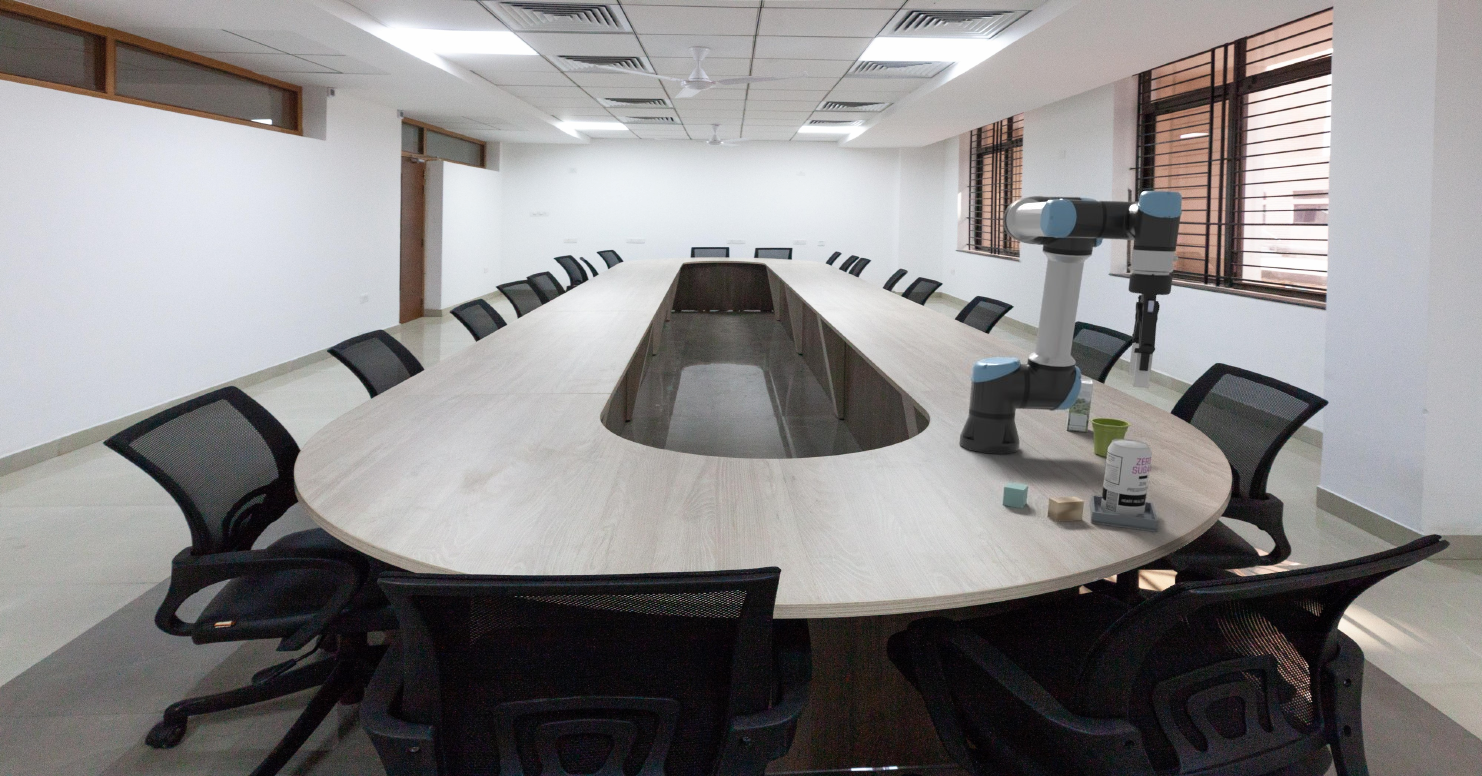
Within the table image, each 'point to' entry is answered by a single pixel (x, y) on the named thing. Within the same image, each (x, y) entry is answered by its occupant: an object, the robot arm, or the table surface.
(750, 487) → the table surface
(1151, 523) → the tray
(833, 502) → the table surface
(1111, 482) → the supplement can
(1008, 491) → the teal block
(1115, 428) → the plant pot
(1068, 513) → the tan block
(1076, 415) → the syrup box
